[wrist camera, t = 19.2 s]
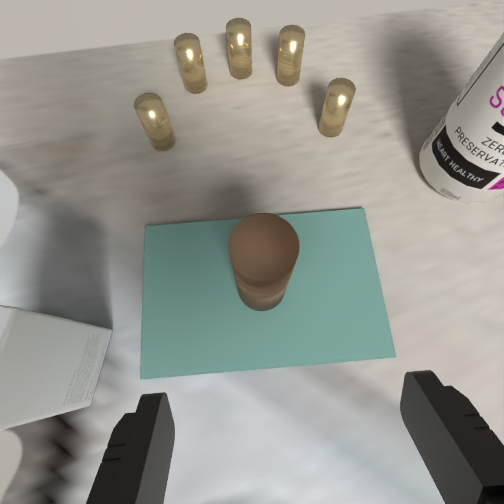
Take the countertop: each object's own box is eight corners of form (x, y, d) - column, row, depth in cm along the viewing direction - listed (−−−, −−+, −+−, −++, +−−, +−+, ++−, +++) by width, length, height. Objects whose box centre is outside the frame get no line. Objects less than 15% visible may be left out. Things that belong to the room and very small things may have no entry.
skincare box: (66, 321, 28) (-67, 287, 16) (117, 329, 28) (18, 300, 16) (39, 400, 26) (-134, 424, 14) (94, 410, 26) (-38, 443, 14)
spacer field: (151, 151, 33) (133, 115, 29) (153, 69, 37) (137, 25, 32) (344, 136, 34) (357, 98, 29) (327, 55, 37) (336, 10, 32)
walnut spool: (238, 312, 27) (229, 282, 18) (236, 266, 29) (226, 215, 19) (287, 309, 27) (303, 277, 18) (282, 263, 29) (295, 210, 19)
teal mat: (141, 379, 26) (140, 379, 26) (146, 227, 31) (144, 226, 30) (394, 357, 26) (396, 357, 26) (362, 210, 31) (364, 208, 30)
